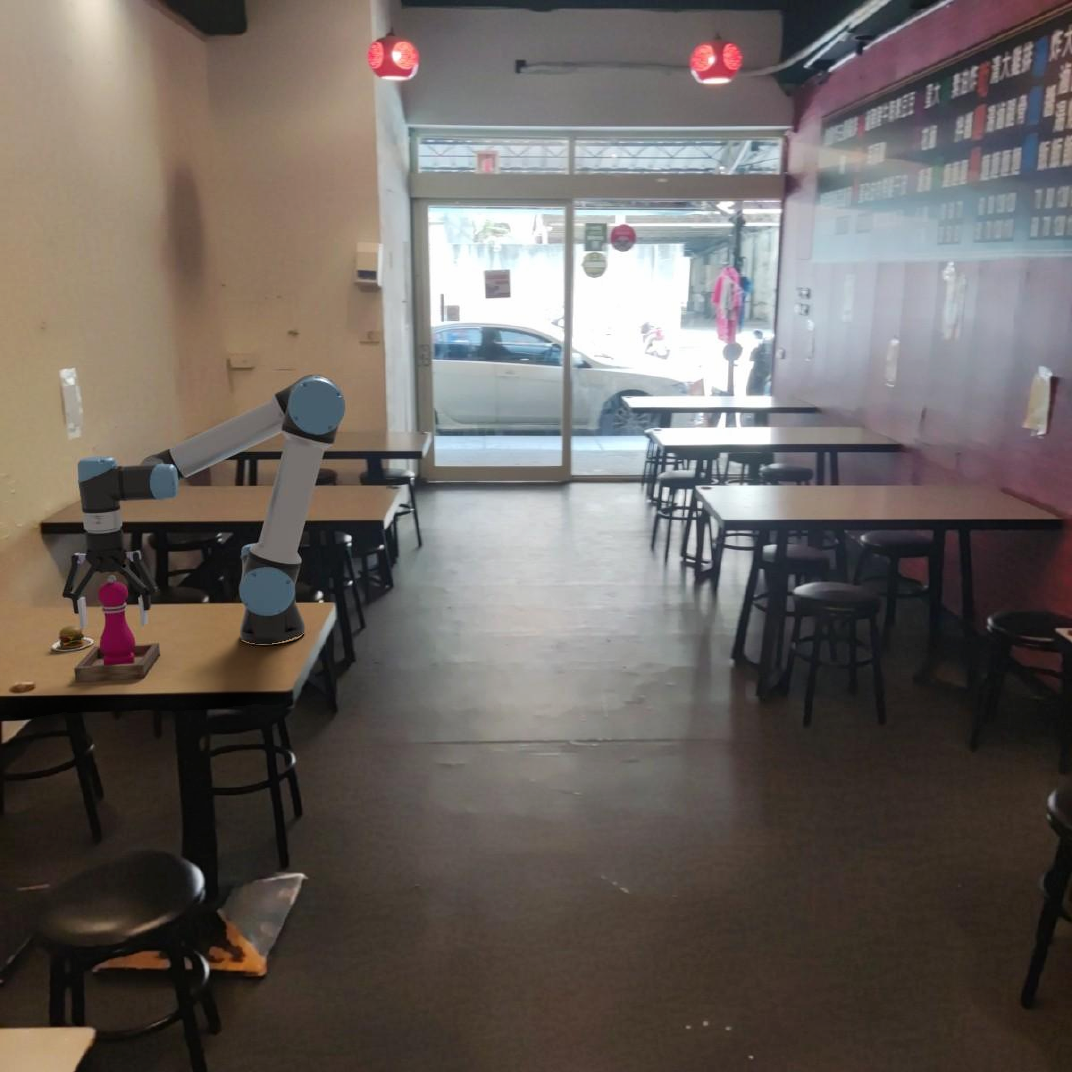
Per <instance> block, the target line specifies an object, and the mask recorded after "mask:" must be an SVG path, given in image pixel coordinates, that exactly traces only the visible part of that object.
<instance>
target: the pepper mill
mask: <svg viewBox="0 0 1072 1072" xmlns="http://www.w3.org/2000/svg"><path fill="white" fill-rule="evenodd" d="M106 581H107V582H106V583H104V584H102V585H101V586H100V587H99V589H98V591H97V597H98V600H99V602H100V603H102V605H101V612H102V613H103V614H104V628H103V631H102V633H101V636H100V638H99V639H100V640H99V646H100V650H101V651H102V652H103V653H104V654H105V655H106V656H104V658H103V660H104V665H115V664H133V663H134V661H135V660H134V654H133V653H132V652H131V651H132V650H133V649H134V647H135V644H136V639H135V637H134V634H133V632H132V630H131V628H130V627H129V624H128V622H127V619H126V610H128V609H127V602H126V600H127V599H128V596H129V592H128V588H127V586H126V585H125V584H123V583H122V582H119V581H117V577H116V576H115V575H113V574H111V575H108V577H107V579H106Z"/></svg>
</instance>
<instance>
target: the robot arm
mask: <svg viewBox="0 0 1072 1072" xmlns="http://www.w3.org/2000/svg"><path fill="white" fill-rule="evenodd" d="M345 400H346V399H345V397H344V394H343V392H342V390H341V389H340V387H339V386H338V385H337V384H336V383H335V382H334V381H333V380H331V379H330V378H328V377H326V376H325V375H321V374H315V373H314V374H308V375H305V376H302V377H301V378H299V379H298V380H296V381H294V382H293V383H292V384H291V385H289V386H287V387H285V388H283V389H281V390H280V391H278V392H275V393H273V395H272V397H271V399H270V400H269V401H267V402H264V403H263V404H260V405H259V406H257V407H254V408H252V409H250V410H248V411H246V412H243V413H241V414H239V415H238V416H235V417H233V418H231V419H229V420H226V421H224V422H222V423H221V424H218V425H215V426H214V427H211V428H209V429H207V430H205V431H203V432H201V433H199V434H197V435H194V436H192V437H191V438H188V439H185V440H184V441H182V442H179V443H178V444H175V445H173V446H171V447H169V448H167V449H165V450H163V451H161V452H159V453H154V454H151V455H148V456H147V457H145V458H144V459H143V460H142V461H141V463H140V464H139V465H138V464H137V465H118V463H116V459H115V458H114V457H112V456H104V455H103V456H101V455H100V456H91V457H90V456H89V457H84V458H81V459H79V461H78V463H77V478H78V479H77V484H78V488H79V490H78V491H79V496H80V503H81V514H82V522H83V529H84V530H85V533H84V539H85V549H86V553H81V552H79V551H76V552H75V553H74V554H72V555H71V557H70V558H71V560H70V561H71V566H70V568H69V569H70V570H69V573H68V576H67V579H66V582H65V584H64V587H63V591H62V594H61V596H62V598H65V599H66V598H67V599H71V601H72V607H73V608H72V609H73V613H74V615H78V617H79V618H78V620H79V626H80V627H79V628H81V629H82V630H85V629H86V628H87V627H88V626H89V619H88V612H87V604H86V603H87V602H86V596H82V594H83V593H84V592H85V590H86V588H88V585H89V584H90V583H91V581H92V579H93V578H94V576H95V575H96V573H97V572H99V574H102V573H103V574H104V573H116V572H117V573H119V574H120V575H122V577H124V579H125V580H126V581H127V582H128V583H129V584H130V585H131V586H132V588H134V589H135V590H136V591H137V592H138V593H139V594H140V596H138V599H137V600H138V608H139V617H140V626H141V627H146V626H147V624H148V623H149V619H148V611H150V610H151V608H152V604H151V603H152V602H151V595H153V594H155V593H156V592H157V591H158V589H159V586H158V585H157V583H156V580H155V579H154V577H153V576H152V574H151V572H150V570H149V569H148V567H147V565H146V563H145V562H144V560H143V553H142V551H141V550H140V549H137V550H135V551H127V549H126V547H125V544H126V543H125V537H124V530H123V529H122V526H123V519H122V510H121V502H127V501H128V502H130V501H131V502H132V501H133V502H134V501H152V500H153V501H155V500H156V501H164V500H171V499H176V497H177V496H178V495H179V487H180V486H179V485H180V484H179V482H180V481H182V480H184V479H186V478H188V477H191V476H192V475H195V474H196V473H198V472H201V471H203V470H205V469H208V468H209V467H212V466H213V465H215V464H218V463H220V462H222V461H225V460H226V459H228V458H230V457H233V456H235V455H237V454H239V453H241V452H244V451H245V450H247V449H249V448H252V447H254V446H256V445H258V444H261V443H263V442H265V441H267V440H269V439H272V438H273V437H275V436H278V435H279V434H281V433H282V435H283V436H284V439H285V442H284V446H283V449H282V453H281V457H280V461H279V464H278V468H277V472H276V476H275V479H274V482H273V483H274V484H273V487H272V490H271V493H270V494H271V495H270V498H269V502H268V506H267V510H266V513H265V517H264V522H263V524H262V529H261V532H260V535H259V539H258V542H256V543H255V542H254V543H249V544H246V545H244V546H242V548H241V554H240V558H241V562H242V565H241V566H242V573H241V579H240V582H239V585H238V594H239V597H240V599H241V602H242V604H243V605H244V607H245V609H244V613H243V617H242V619H241V620H242V621H241V625H240V629H239V633H240V640H241V639H242V640H244V641H246V642H249V643H255V644H272V643H278V642H282V641H286V640H289V639H292V638H294V637H298V636H300V635H302V634H303V633H304V631H305V632H306V626H305V622H304V619H303V617H302V615H301V612H300V610H299V607H298V605H297V603H296V600H297V599H296V587H295V586H296V582H297V580H298V576H299V572H300V568H301V566H302V565H301V564H302V558H301V556H300V554H299V553H298V550H299V546H300V542H301V540H302V535H303V531H304V527H305V523H306V520H307V516H308V512H309V509H310V505H311V502H312V497H313V495H314V490H315V487H316V483H317V480H318V475H319V472H320V467H321V465H322V461H323V458H324V457H323V456H324V454H325V451H326V450H327V449H328V448H330V447H332V446H334V444H335V440H336V437H337V433H338V429H339V426H340V423H341V421H342V420H343V419H344V416H345V413H346V403H345ZM127 558H128V559H130V561H131V562H132V563H133V564H134V566H135V568H136V570H137V571H138V574H139V575H140V577H141V579H142V580H143V581H142V580H141V579H140V578H139V577H138V575H136V574H135V573H134V572H133V570H131V568H130V566H129V565H128V564H127V563H126V560H127ZM85 560H86V562H88V564H89V565H90V567H89V569H88V570H87V572H86V574H85V576H83V578H82V580H81V581H80V583H79V584H78V586H77V587H76V588H75V591H74V587H75V583H76V580H77V578H78V574H79V572H80V568H81V566H82V564H83V563H84V561H85ZM242 640H241V641H242Z"/></svg>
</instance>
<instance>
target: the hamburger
mask: <svg viewBox="0 0 1072 1072" xmlns="http://www.w3.org/2000/svg"><path fill="white" fill-rule="evenodd" d="M57 639H59V640H60V641H58V642H55V643H54V644H52V646H51V648H52V649H53V650H55V651H58V652H73V651H78V650H82V649H86V648H87V646H88V647H90V646H91V645H92V644H93V643H94V640H93V639H92V638H90V637H85V633H84V632H83V629H81V628H80V627H79V626H76V625H68V626H65V627H63V628H61V629H60V631H59V634H58V638H57ZM84 642H88V643H89V644H88V645H85V646H83V645H84ZM59 646H60V647H61V648H62V649H58V648H57V647H59ZM85 647H86V648H85Z"/></svg>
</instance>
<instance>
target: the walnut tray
mask: <svg viewBox="0 0 1072 1072" xmlns="http://www.w3.org/2000/svg"><path fill="white" fill-rule="evenodd" d="M131 652H132V653H133V654H134V660H135V661H134V663H133V664H115V665H104V660H103V658H104V656H106V655H105V654H104V653H103V652H102V651H101V650H100V645H97V646H96V645H95V646H93V647H92V649H91V650H89V652H88V653H87V654H86V655H85V656H84V657H83V658H82V659H81V660H80V662H79V663H78V664H77V665H76V666H75V667H74V668H73V670H74V676H75V677H74V678H75V682H76V683H81V682H96V681H97V682H99V681H114V680H115V681H116V680H132V679H133V680H135V679H145V678H146V677H147V675H148V674H149V672H150V671H151V669H152V668H153V667H154V665H155V664H156V662H157V661H158V660H159V658H160V657H161V651H160V642H157V643H156V642H155V643H154V642H153V643H135V647H134V649H133V650H132V651H131ZM159 656H160V657H159ZM158 657H159V658H158ZM154 663H155V664H154ZM152 666H153V667H152ZM149 670H150V671H149Z"/></svg>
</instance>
